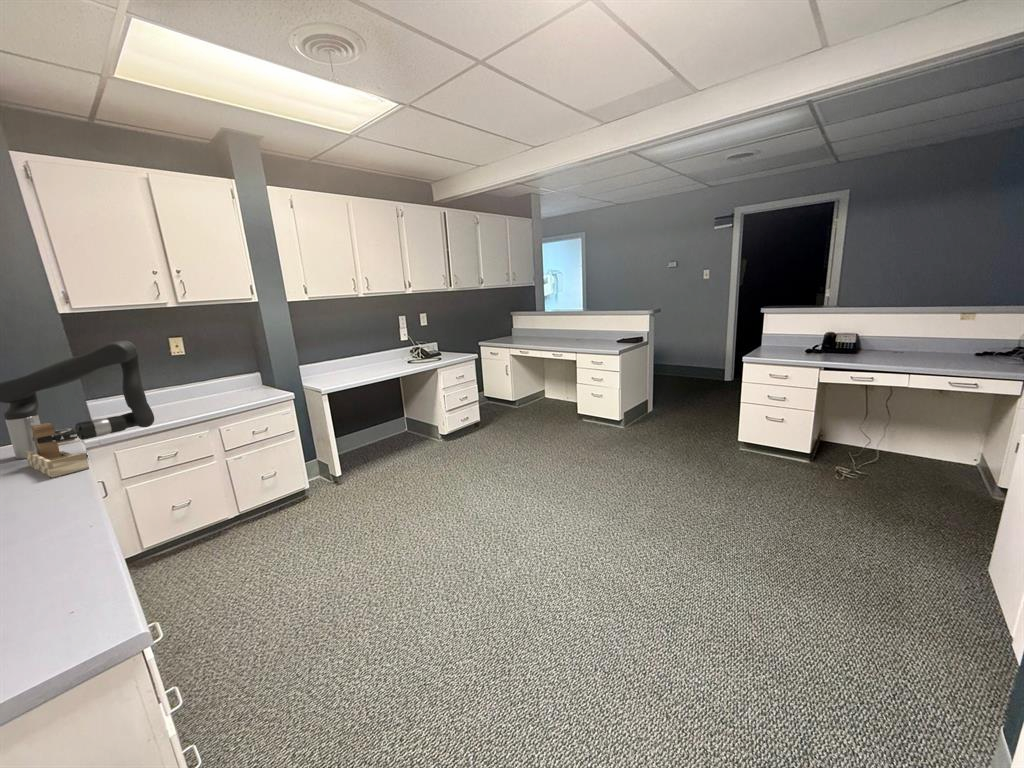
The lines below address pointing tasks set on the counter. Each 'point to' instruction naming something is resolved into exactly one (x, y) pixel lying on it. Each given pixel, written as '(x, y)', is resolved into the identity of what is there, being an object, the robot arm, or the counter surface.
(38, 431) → the walnut block
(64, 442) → the packaged product
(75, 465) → the box
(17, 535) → the counter surface
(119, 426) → the robot arm
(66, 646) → the counter surface
